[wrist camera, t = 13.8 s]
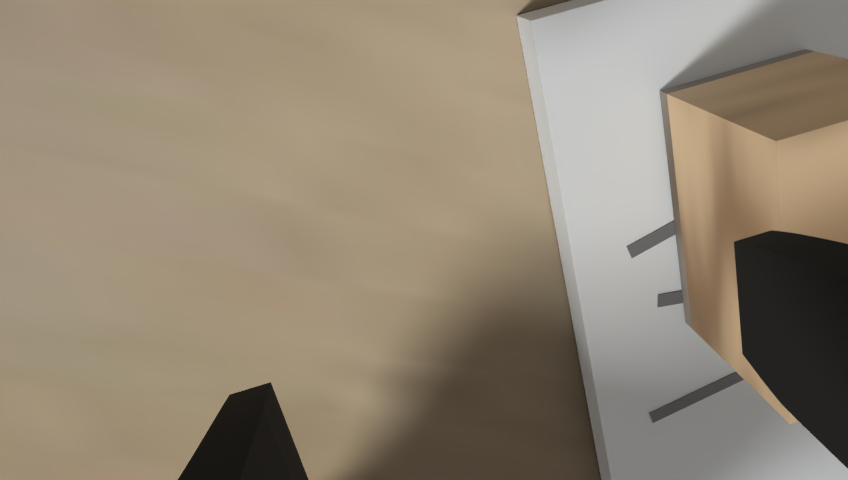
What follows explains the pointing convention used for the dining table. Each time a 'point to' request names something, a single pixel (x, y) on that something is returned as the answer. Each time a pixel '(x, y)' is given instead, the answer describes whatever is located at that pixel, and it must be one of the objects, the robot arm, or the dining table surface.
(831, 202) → the block
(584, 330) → the board
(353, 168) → the dining table surface
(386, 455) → the dining table surface
